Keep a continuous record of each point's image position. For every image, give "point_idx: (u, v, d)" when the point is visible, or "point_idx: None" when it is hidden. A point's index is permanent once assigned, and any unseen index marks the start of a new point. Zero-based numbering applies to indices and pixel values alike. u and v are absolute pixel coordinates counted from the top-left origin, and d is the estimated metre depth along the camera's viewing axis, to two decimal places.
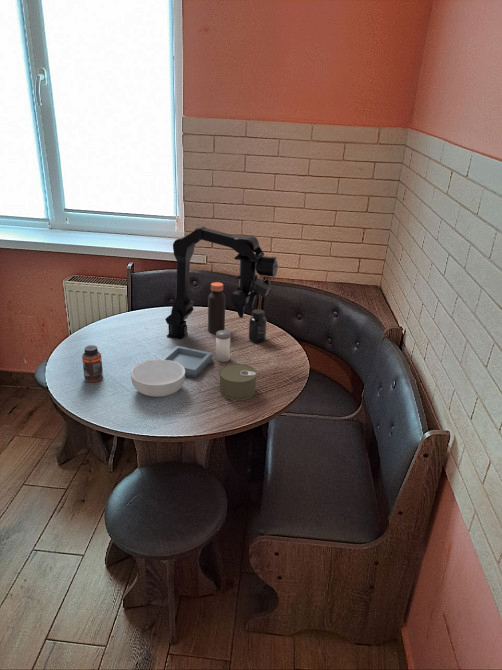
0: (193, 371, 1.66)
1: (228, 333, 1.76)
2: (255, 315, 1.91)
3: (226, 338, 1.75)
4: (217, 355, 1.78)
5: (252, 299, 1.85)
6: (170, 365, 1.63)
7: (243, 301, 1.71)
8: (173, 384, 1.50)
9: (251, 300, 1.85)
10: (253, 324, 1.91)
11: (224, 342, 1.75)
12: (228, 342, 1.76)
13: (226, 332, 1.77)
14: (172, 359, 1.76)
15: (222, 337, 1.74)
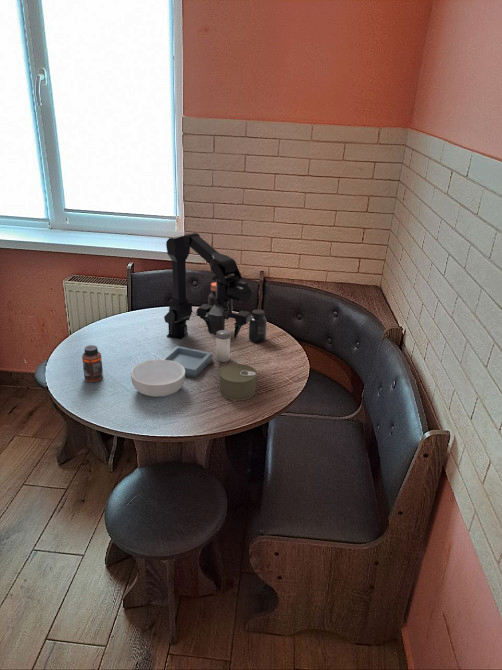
0: (193, 371, 1.66)
1: (228, 333, 1.76)
2: (255, 315, 1.91)
3: (226, 338, 1.75)
4: (217, 355, 1.78)
5: None
6: (170, 365, 1.63)
7: None
8: (173, 384, 1.50)
9: None
10: (253, 324, 1.91)
11: (224, 342, 1.75)
12: (228, 342, 1.76)
13: (226, 332, 1.77)
14: (172, 359, 1.76)
15: (222, 337, 1.74)
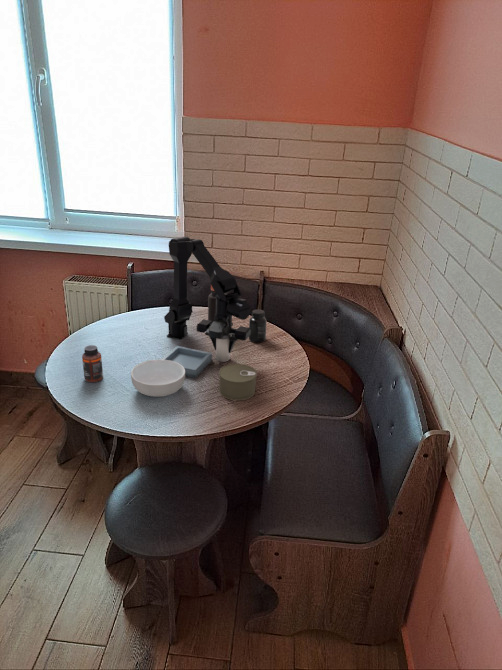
0: (193, 371, 1.66)
1: None
2: (255, 315, 1.91)
3: (226, 338, 1.75)
4: (217, 355, 1.78)
5: None
6: (170, 365, 1.63)
7: None
8: (173, 384, 1.50)
9: None
10: (253, 324, 1.91)
11: (224, 342, 1.75)
12: (228, 342, 1.76)
13: None
14: (172, 359, 1.76)
15: None
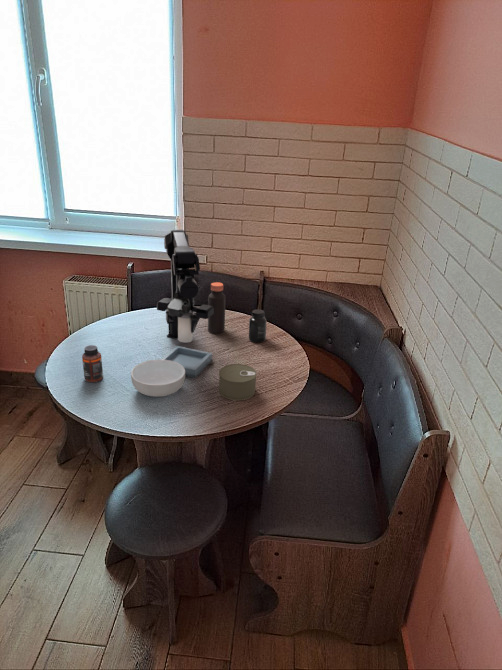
0: (193, 371, 1.66)
1: (190, 312, 1.67)
2: (255, 315, 1.91)
3: (188, 317, 1.65)
4: (179, 335, 1.68)
5: None
6: (170, 365, 1.63)
7: None
8: (173, 384, 1.50)
9: None
10: (253, 324, 1.91)
11: (186, 321, 1.65)
12: (190, 321, 1.67)
13: None
14: (172, 359, 1.76)
15: (183, 316, 1.64)
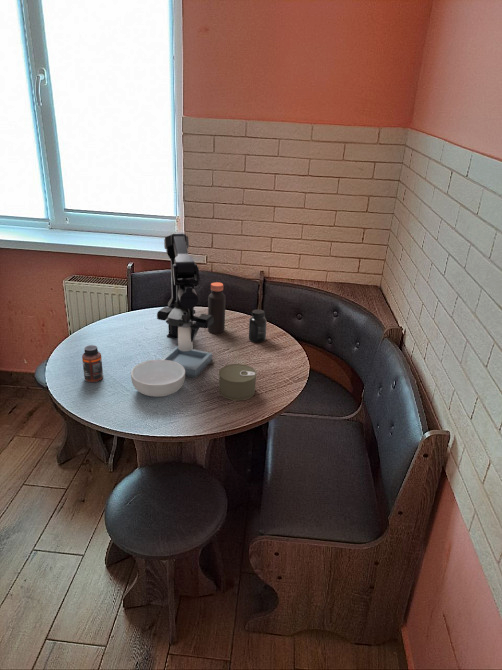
0: (193, 371, 1.66)
1: (190, 321, 1.68)
2: (255, 315, 1.91)
3: (188, 326, 1.66)
4: (179, 344, 1.70)
5: None
6: (170, 365, 1.63)
7: None
8: (173, 384, 1.50)
9: None
10: (253, 324, 1.91)
11: (186, 330, 1.67)
12: (190, 330, 1.68)
13: None
14: (172, 359, 1.76)
15: (183, 325, 1.66)
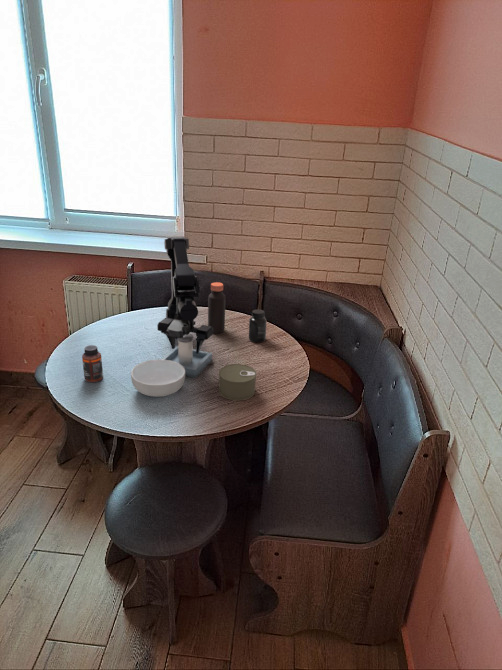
0: (193, 371, 1.66)
1: (190, 336, 1.70)
2: (255, 315, 1.91)
3: (188, 341, 1.69)
4: (179, 359, 1.72)
5: None
6: (170, 365, 1.63)
7: None
8: (173, 384, 1.50)
9: None
10: (253, 324, 1.91)
11: (186, 345, 1.69)
12: (191, 345, 1.70)
13: (188, 335, 1.71)
14: (172, 359, 1.76)
15: (183, 340, 1.68)
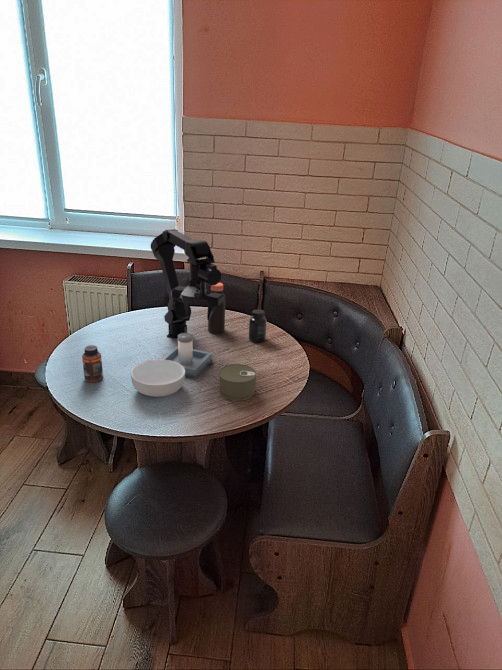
0: (193, 371, 1.66)
1: (190, 336, 1.70)
2: (255, 315, 1.91)
3: (188, 341, 1.69)
4: (179, 359, 1.72)
5: None
6: (170, 365, 1.63)
7: None
8: (173, 384, 1.50)
9: None
10: (253, 324, 1.91)
11: (186, 345, 1.69)
12: (190, 345, 1.70)
13: (188, 335, 1.71)
14: (172, 359, 1.76)
15: (183, 340, 1.68)
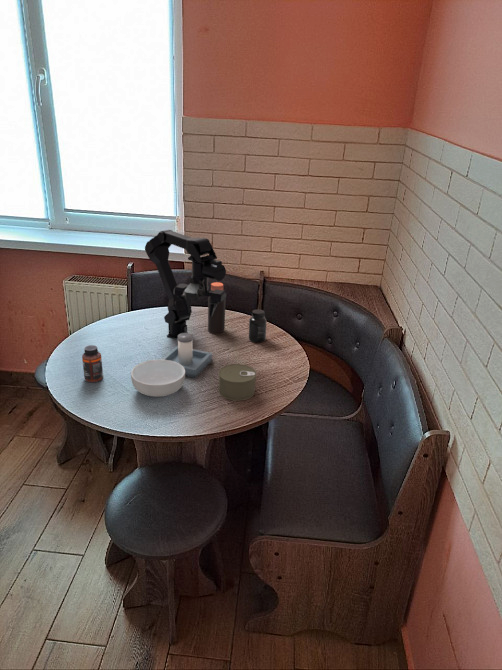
0: (193, 371, 1.66)
1: (190, 336, 1.70)
2: (255, 315, 1.91)
3: (188, 341, 1.69)
4: (179, 359, 1.72)
5: None
6: (170, 365, 1.63)
7: None
8: (173, 384, 1.50)
9: None
10: (253, 324, 1.91)
11: (186, 345, 1.69)
12: (190, 345, 1.70)
13: (188, 335, 1.71)
14: (172, 359, 1.76)
15: (183, 340, 1.68)
